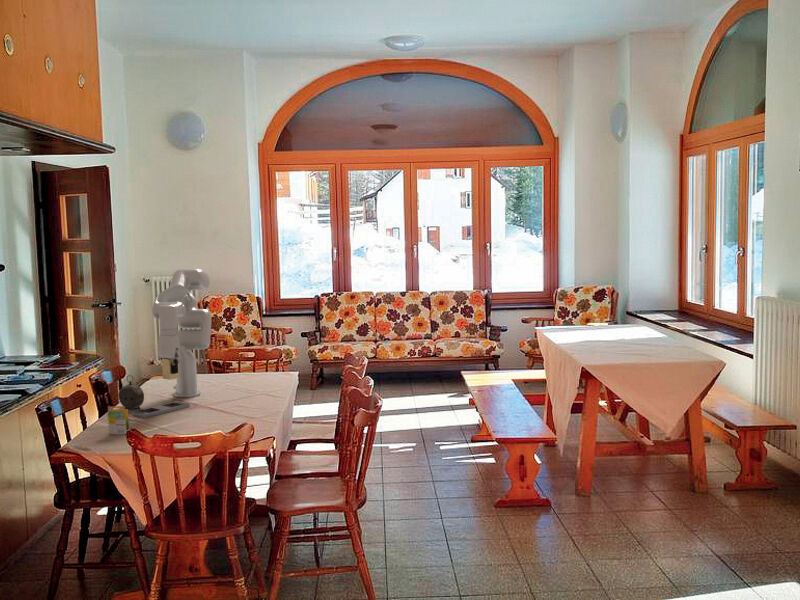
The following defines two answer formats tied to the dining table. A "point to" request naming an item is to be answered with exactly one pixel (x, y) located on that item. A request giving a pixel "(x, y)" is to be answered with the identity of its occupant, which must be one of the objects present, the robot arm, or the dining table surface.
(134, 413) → the divided tray
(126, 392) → the alarm clock
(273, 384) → the dining table surface
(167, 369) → the brushed gold block
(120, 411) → the crayon box
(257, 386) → the dining table surface
